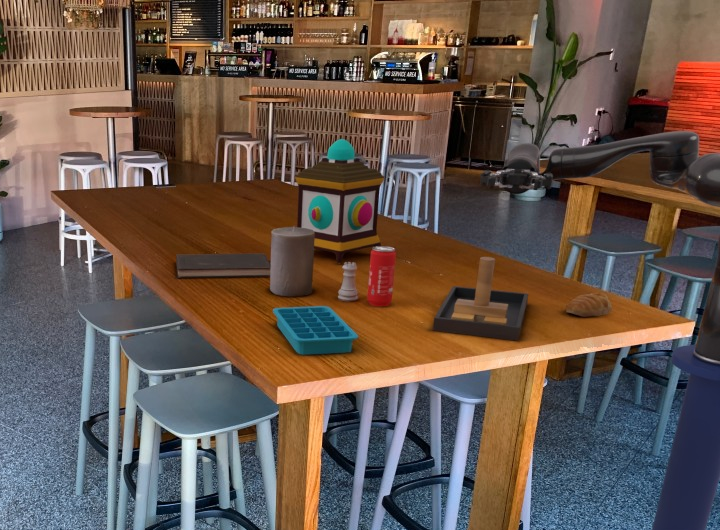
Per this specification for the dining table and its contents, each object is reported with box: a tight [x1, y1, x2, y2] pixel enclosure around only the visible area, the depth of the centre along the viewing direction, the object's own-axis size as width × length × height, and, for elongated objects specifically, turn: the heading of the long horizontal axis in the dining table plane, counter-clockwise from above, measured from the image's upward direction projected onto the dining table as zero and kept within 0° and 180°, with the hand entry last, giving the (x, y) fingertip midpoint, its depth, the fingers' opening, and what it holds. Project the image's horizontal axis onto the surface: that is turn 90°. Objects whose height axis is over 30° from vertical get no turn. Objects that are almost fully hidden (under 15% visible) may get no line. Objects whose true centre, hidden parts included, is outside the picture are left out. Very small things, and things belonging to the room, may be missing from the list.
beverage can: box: [366, 245, 397, 308], centre depth 168 cm, size 5×5×12 cm
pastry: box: [565, 292, 613, 318], centre depth 163 cm, size 9×7×4 cm
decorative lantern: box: [294, 138, 386, 265], centre depth 209 cm, size 20×20×30 cm
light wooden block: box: [451, 313, 475, 321], centre depth 154 cm, size 3×4×2 cm
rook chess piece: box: [337, 261, 359, 302], centre depth 172 cm, size 4×4×8 cm
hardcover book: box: [175, 252, 271, 279], centre depth 198 cm, size 16×23×2 cm
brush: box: [454, 256, 508, 322], centre depth 154 cm, size 4×10×13 cm, turn 66°
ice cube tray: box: [272, 305, 359, 356], centre depth 149 cm, size 12×20×3 cm, turn 8°
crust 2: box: [484, 316, 507, 325], centre depth 152 cm, size 3×4×2 cm
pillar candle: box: [269, 225, 315, 297], centre depth 177 cm, size 10×10×15 cm
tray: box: [432, 285, 529, 342], centre depth 161 cm, size 26×16×3 cm, turn 156°
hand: (513, 183), depth 163 cm, fingers open, 8 cm apart
